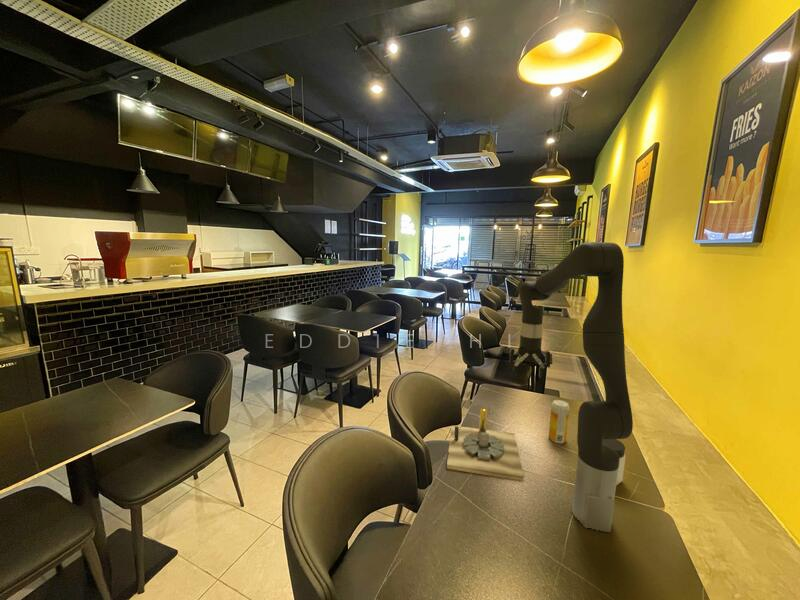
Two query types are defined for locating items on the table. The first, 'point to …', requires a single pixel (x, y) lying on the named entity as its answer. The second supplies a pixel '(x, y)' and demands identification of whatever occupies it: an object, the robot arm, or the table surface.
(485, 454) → the flange
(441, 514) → the table surface
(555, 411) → the orange white canister
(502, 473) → the base
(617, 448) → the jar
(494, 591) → the table surface
